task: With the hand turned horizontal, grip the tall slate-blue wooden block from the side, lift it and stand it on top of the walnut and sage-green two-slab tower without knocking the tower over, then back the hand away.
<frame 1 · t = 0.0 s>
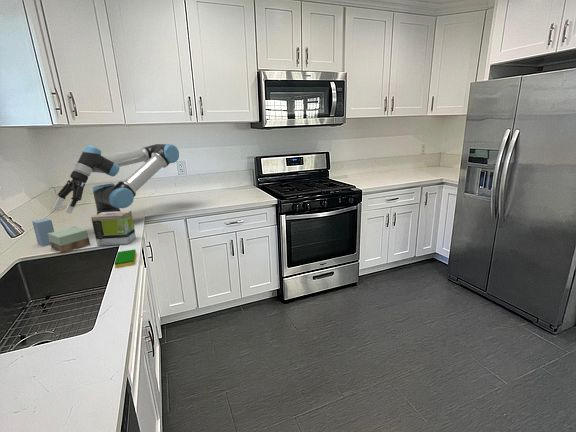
hand: (61, 211, 160), 15 cm above the countertop, tool tilted 35°, fingers open, 13 cm apart
tower top: (69, 239, 152), point 4 cm above the countertop, touching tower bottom
blue block: (47, 243, 159), on the countertop
dish sponge: (126, 261, 135), on the countertop
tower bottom: (71, 247, 154), on the countertop, touching tower top
tea box: (117, 242, 158), on the countertop
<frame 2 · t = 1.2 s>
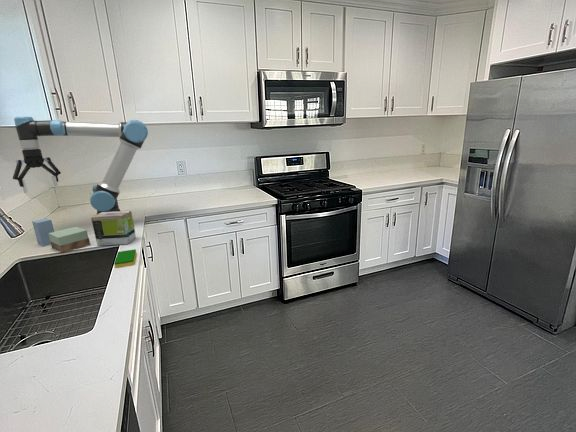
hand: (41, 190, 165), 25 cm above the countertop, tool pointing down, fingers open, 13 cm apart
tower top: (69, 239, 153), point 3 cm above the countertop
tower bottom: (71, 247, 154), on the countertop
everything else where it was.
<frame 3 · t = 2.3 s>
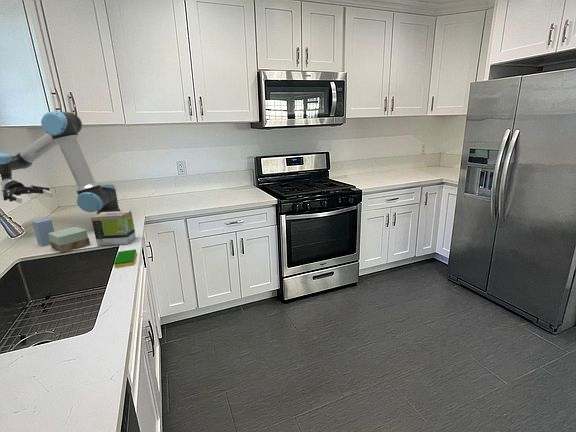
hand: (36, 197, 159), 22 cm above the countertop, tool horizontal, fingers open, 13 cm apart
tower top: (69, 239, 153), point 4 cm above the countertop, touching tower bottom
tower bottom: (71, 247, 154), on the countertop, touching tower top
everything else where it was.
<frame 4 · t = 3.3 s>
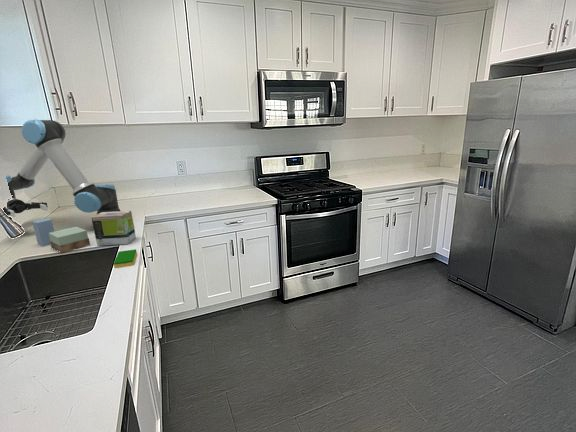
hand: (30, 210, 160), 16 cm above the countertop, tool horizontal, fingers open, 13 cm apart
nothing on the countertop moved.
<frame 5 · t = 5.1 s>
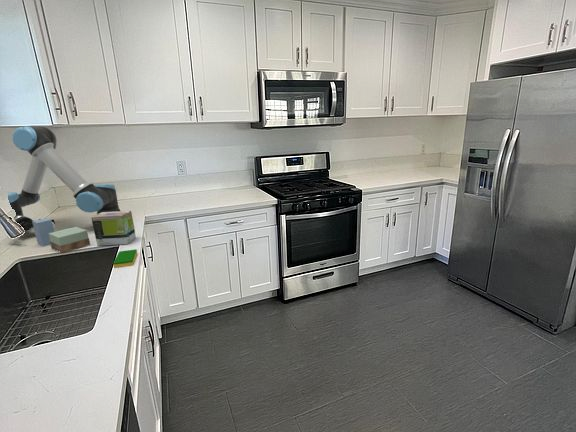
hand: (38, 228, 160), 7 cm above the countertop, tool horizontal, fingers open, 13 cm apart
nothing on the countertop moved.
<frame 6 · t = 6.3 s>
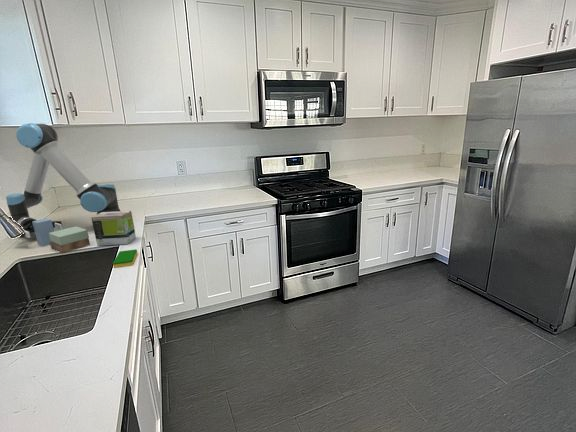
hand: (45, 231, 156), 7 cm above the countertop, tool horizontal, fingers open, 13 cm apart
nothing on the countertop moved.
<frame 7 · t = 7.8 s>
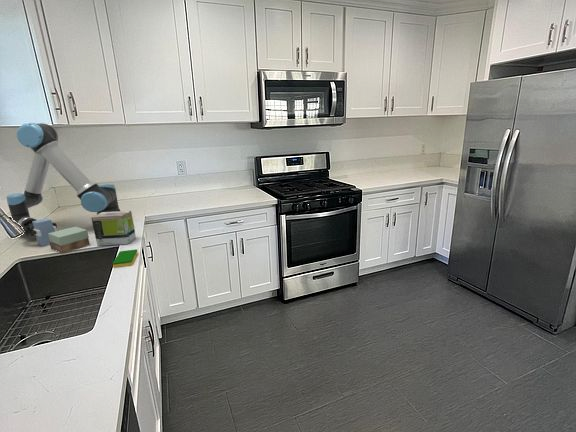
hand: (48, 231, 155), 7 cm above the countertop, tool horizontal, fingers closed on blue block, 6 cm apart
tower top: (69, 239, 153), point 4 cm above the countertop
blue block: (47, 243, 159), on the countertop, touching gripper
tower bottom: (70, 247, 153), on the countertop
everything else where it was.
when the fingers open (16 cm above the countertop, at t = 13.5 s): blue block drops 2 cm, resting on tower top.
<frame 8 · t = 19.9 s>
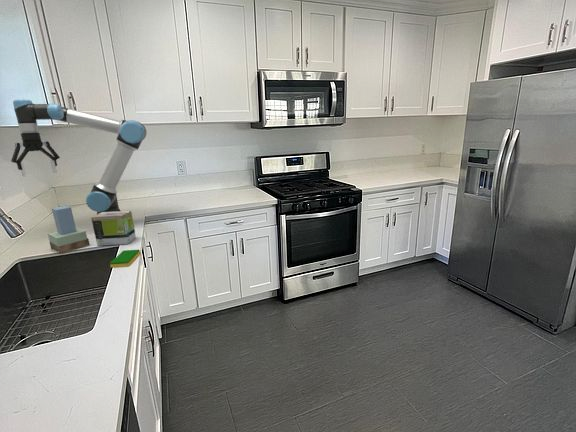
hand: (40, 174, 165), 33 cm above the countertop, tool pointing down, fingers open, 13 cm apart
tower top: (68, 240, 152), point 3 cm above the countertop, touching blue block, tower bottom
blue block: (67, 232, 151), point 7 cm above the countertop, touching tower top
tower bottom: (70, 247, 153), on the countertop, touching tower top
at the end: blue block inside the target area on the tower top (0.2 cm from its centre), point 4.1 cm above the tower top's base; tower top 0.1 cm off-centre on the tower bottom, point 4.0 cm above the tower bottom's base; blue block tilted 1° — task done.
